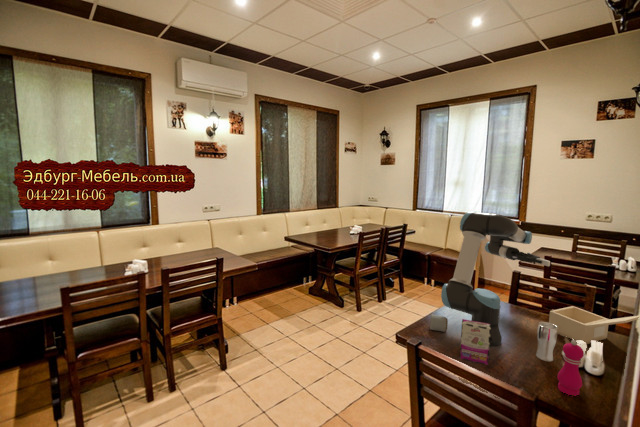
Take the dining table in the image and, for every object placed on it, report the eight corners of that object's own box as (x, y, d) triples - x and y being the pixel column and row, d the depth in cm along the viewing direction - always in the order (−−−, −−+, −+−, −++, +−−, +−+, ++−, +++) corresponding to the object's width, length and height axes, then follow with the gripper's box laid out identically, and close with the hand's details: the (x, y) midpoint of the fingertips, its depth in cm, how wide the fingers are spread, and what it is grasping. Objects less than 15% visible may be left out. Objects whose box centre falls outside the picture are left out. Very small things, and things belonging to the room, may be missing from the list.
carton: (583, 345, 146) (586, 325, 145) (548, 329, 161) (550, 311, 160) (607, 338, 152) (609, 319, 151) (570, 323, 167) (572, 305, 166)
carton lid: (585, 325, 145) (586, 327, 144) (624, 320, 131) (625, 322, 131) (609, 319, 151) (610, 321, 151) (648, 314, 137) (649, 316, 137)
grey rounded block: (447, 334, 155) (448, 320, 154) (429, 332, 158) (430, 317, 157) (445, 325, 165) (446, 311, 164) (429, 322, 168) (430, 309, 167)
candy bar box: (487, 359, 135) (490, 323, 133) (488, 365, 130) (491, 328, 128) (459, 352, 140) (462, 318, 138) (459, 358, 135) (461, 323, 133)
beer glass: (555, 364, 132) (558, 331, 130) (535, 358, 135) (538, 326, 133) (553, 356, 137) (557, 324, 135) (534, 351, 141) (537, 320, 139)
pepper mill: (560, 394, 113) (566, 343, 111) (553, 382, 120) (558, 333, 117) (584, 400, 111) (591, 347, 108) (576, 387, 118) (582, 337, 115)
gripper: (516, 257, 192) (556, 268, 170) (501, 259, 188) (540, 271, 166) (517, 245, 191) (558, 255, 169) (501, 247, 187) (541, 258, 165)
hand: (549, 263), depth 167 cm, fingers closed
